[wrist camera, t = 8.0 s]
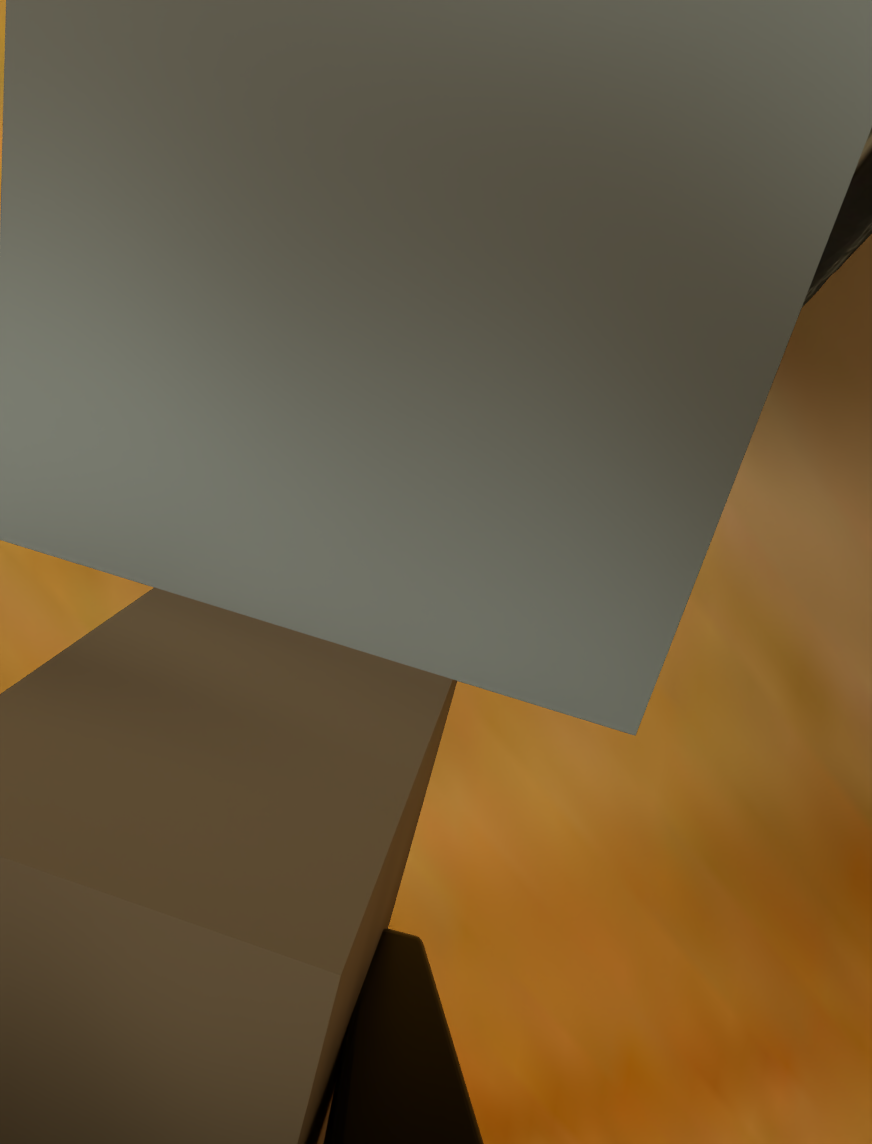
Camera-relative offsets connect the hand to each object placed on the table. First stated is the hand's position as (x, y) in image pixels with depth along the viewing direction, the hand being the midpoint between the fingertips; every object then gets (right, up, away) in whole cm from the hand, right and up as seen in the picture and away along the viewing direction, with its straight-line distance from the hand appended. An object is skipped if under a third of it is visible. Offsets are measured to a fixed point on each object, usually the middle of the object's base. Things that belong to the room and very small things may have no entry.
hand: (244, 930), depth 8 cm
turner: (+1, +3, 0) cm, 4 cm away
